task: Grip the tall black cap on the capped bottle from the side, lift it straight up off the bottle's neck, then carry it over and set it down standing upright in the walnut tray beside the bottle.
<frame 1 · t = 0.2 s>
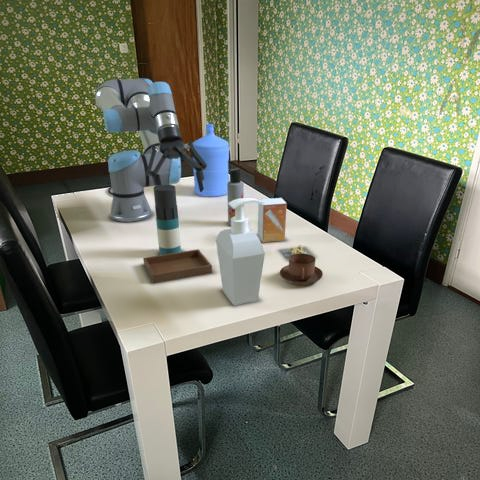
hand: (182, 192, 152), 15 cm above the table, tool tilted 35°, fingers open, 13 cm apart
capped bottle: (170, 253, 148), on the table
tray: (177, 269, 138), on the table
soap bottle: (243, 296, 124), on the table
dice set: (296, 254, 147), on the table
small box: (271, 239, 158), on the table
lotion bottle: (235, 224, 171), on the table
water jug: (212, 192, 206), on the table
cap: (167, 216, 142), point 12 cm above the table, touching capped bottle
cup and saucer: (300, 279, 132), on the table
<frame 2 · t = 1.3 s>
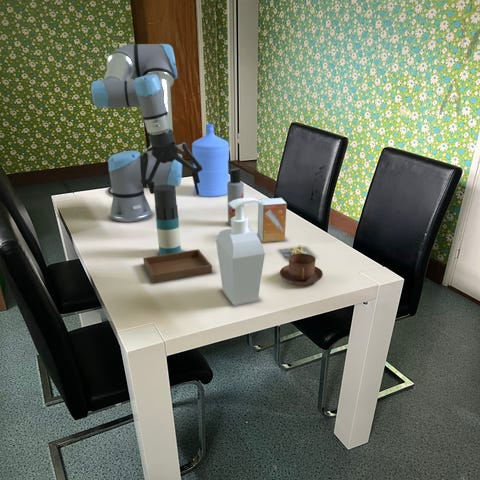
hand: (178, 197, 154), 13 cm above the table, tool pointing down, fingers open, 13 cm apart
nothing on the table moved.
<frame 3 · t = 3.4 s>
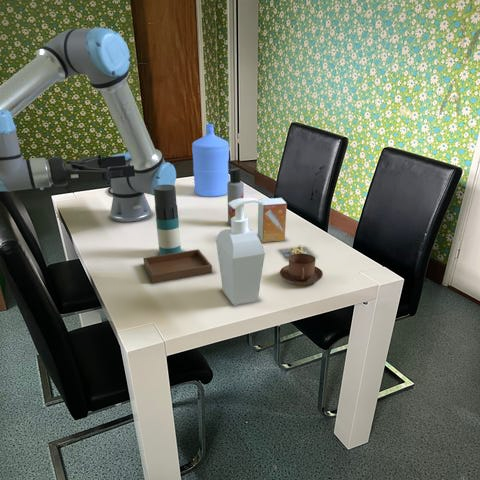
hand: (129, 165, 131), 28 cm above the table, tool horizontal, fingers open, 13 cm apart
nothing on the table moved.
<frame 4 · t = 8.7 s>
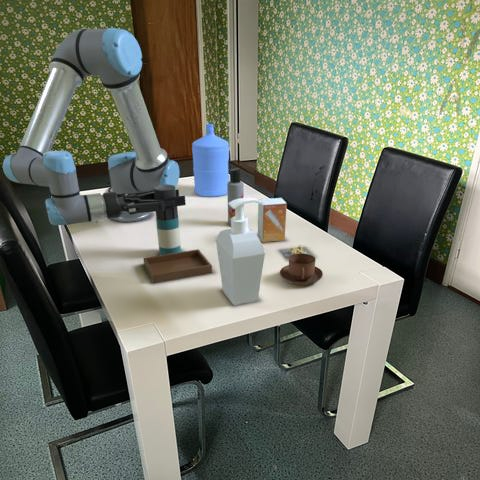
hand: (181, 197, 141), 18 cm above the table, tool horizontal, fingers closed on cap, 6 cm apart
cap: (167, 216, 142), point 12 cm above the table, touching gripper, capped bottle
everything else where it was.
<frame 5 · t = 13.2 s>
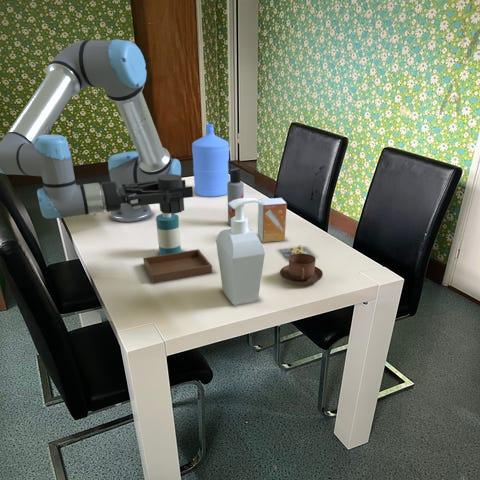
hand: (188, 188, 127), 23 cm above the table, tool horizontal, fingers closed on cap, 6 cm apart
cap: (172, 210, 129), point 18 cm above the table, touching gripper
everything else where it was.
when the fingers open (6 cm above the table, at t = 18.1 s): cap stays where it is, resting on tray.
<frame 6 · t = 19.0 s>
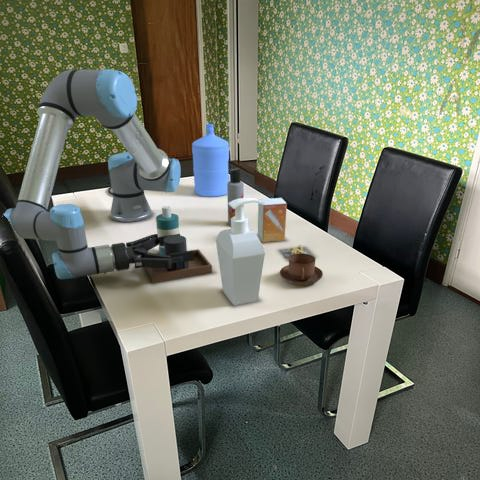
hand: (186, 246, 135), 7 cm above the table, tool horizontal, fingers open, 13 cm apart
cap: (177, 267, 138), resting on tray
everything else where it was.
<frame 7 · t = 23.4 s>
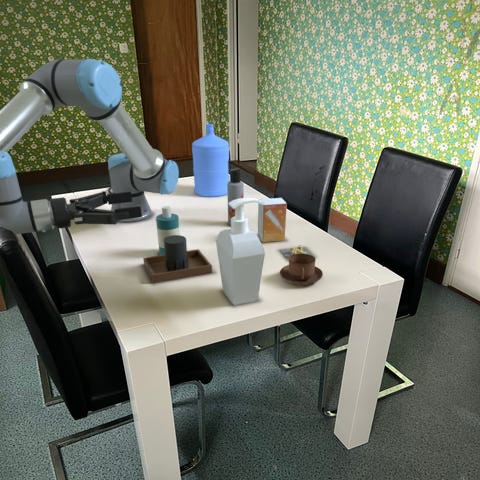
hand: (136, 203, 124), 21 cm above the table, tool horizontal, fingers open, 13 cm apart
nothing on the table moved.
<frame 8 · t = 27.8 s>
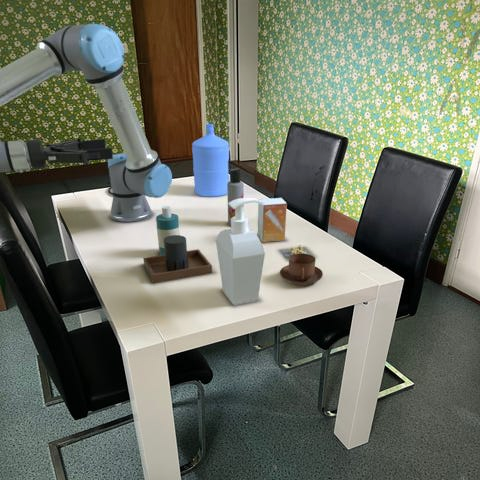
hand: (108, 148, 132), 32 cm above the table, tool horizontal, fingers open, 13 cm apart
nothing on the table moved.
at the end: cap inside the target area in the tray (0.0 cm from its centre), point 0.5 cm above the tray's base; cap tilted 0°; the gripper is holding nothing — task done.
